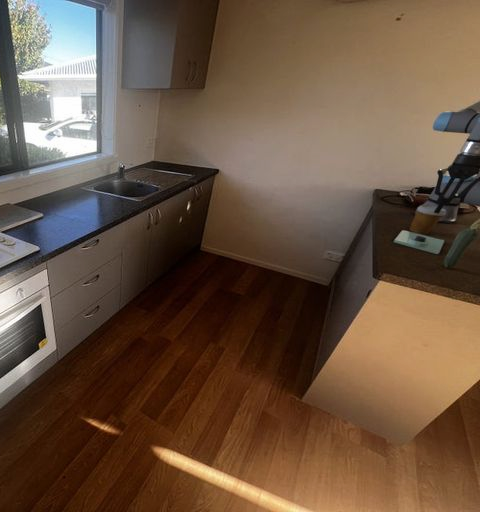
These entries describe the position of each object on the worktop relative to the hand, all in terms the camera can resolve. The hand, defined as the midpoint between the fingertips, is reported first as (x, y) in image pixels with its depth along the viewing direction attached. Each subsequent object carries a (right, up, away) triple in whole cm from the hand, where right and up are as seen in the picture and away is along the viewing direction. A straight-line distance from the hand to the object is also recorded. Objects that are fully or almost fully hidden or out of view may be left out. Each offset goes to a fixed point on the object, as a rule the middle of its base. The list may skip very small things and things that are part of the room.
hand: (436, 212), depth 121 cm
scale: (+1, -12, +8) cm, 15 cm away
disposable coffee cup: (+13, -7, +19) cm, 24 cm away
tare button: (-4, -12, +3) cm, 13 cm away
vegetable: (-10, -23, -11) cm, 27 cm away
